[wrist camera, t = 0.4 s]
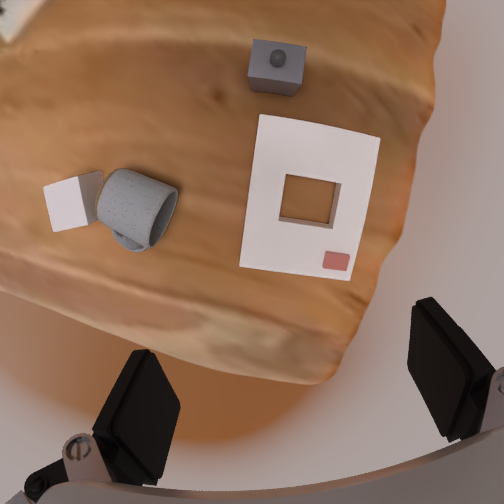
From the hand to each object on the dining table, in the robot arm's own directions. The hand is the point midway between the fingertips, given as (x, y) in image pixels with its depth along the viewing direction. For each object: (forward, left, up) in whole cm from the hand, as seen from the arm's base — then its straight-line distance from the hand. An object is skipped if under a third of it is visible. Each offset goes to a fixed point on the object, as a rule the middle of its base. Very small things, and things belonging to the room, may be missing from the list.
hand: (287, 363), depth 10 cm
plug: (-15, -2, -28) cm, 32 cm away
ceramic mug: (+3, -16, -29) cm, 33 cm away
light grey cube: (+2, -25, -29) cm, 38 cm away
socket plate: (-1, +4, -28) cm, 29 cm away
